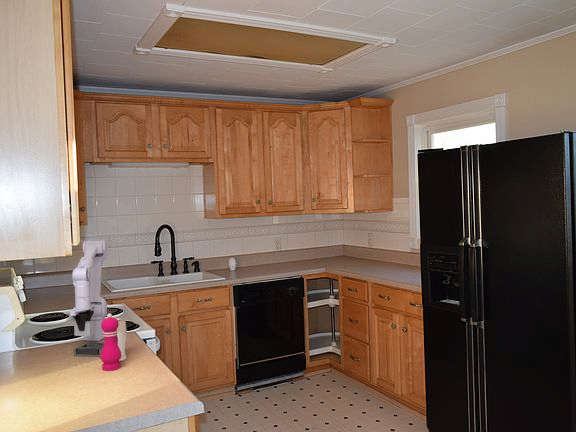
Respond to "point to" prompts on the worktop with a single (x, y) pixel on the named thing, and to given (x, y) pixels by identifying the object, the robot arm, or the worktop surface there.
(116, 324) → the pepper mill
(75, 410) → the worktop surface
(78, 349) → the rack
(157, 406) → the worktop surface
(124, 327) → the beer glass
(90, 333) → the panel
